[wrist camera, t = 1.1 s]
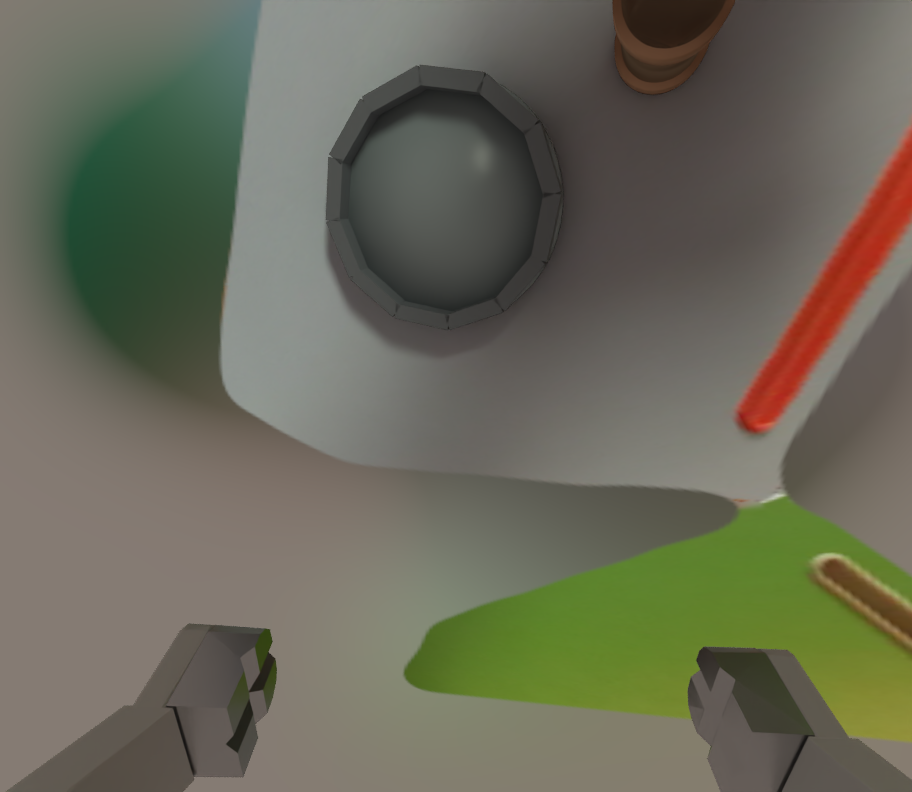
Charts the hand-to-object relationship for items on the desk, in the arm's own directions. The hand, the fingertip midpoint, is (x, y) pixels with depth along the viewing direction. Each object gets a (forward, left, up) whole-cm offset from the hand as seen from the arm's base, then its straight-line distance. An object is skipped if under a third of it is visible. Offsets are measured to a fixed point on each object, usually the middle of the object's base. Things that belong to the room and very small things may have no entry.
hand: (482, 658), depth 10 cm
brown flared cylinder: (-18, 0, -34) cm, 38 cm away
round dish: (-6, -13, -34) cm, 37 cm away
